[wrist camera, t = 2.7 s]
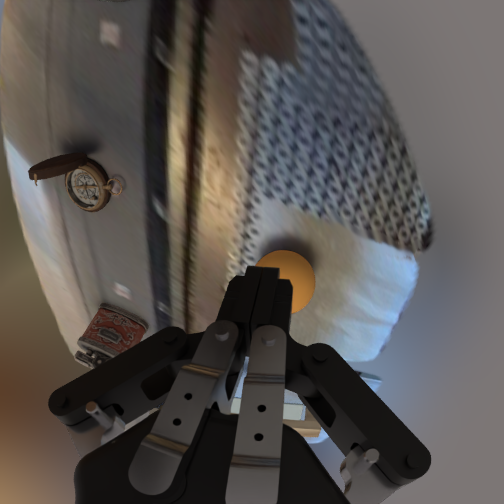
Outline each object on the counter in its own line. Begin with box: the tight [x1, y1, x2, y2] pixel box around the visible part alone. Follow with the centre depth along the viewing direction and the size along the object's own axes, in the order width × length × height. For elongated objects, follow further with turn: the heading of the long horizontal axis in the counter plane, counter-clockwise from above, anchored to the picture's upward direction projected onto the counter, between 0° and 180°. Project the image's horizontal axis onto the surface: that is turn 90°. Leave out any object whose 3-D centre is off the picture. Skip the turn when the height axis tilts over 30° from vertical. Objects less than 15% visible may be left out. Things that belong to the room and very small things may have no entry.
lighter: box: [74, 303, 149, 369], centre depth 38 cm, size 8×3×10 cm, turn 72°
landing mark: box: [231, 397, 303, 420], centre depth 54 cm, size 14×14×1 cm
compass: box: [28, 153, 122, 212], centre depth 26 cm, size 8×8×7 cm
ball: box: [255, 250, 315, 314], centre depth 29 cm, size 6×6×6 cm
